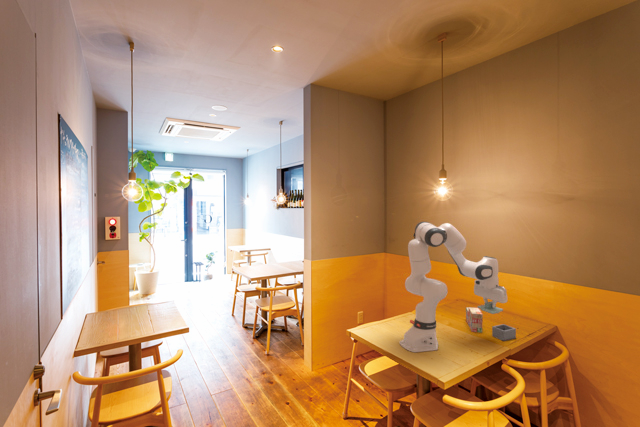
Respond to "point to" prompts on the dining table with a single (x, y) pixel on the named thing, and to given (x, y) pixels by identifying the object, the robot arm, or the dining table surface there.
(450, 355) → the dining table surface
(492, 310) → the lid
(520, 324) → the dining table surface
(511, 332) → the storage box
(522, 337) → the dining table surface
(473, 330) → the stack of blocks
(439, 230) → the robot arm
